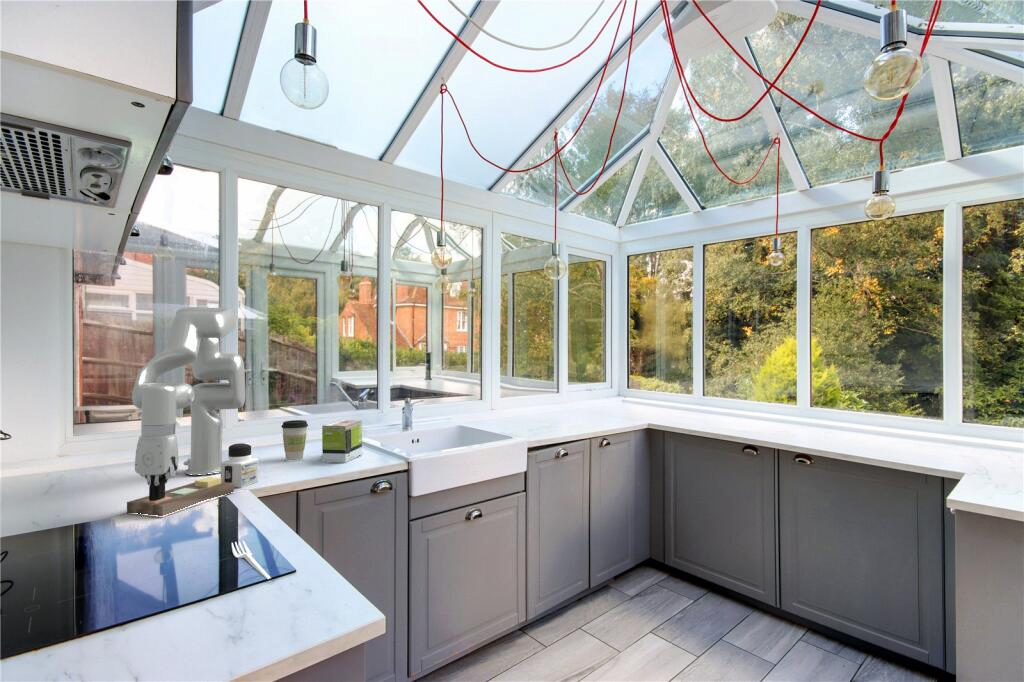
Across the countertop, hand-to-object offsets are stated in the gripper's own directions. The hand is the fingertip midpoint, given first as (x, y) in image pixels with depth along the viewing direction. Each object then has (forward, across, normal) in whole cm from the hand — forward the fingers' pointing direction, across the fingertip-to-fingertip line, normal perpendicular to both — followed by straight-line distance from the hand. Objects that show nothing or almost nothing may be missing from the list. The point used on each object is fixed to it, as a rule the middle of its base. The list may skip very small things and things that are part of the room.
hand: (157, 499), depth 131 cm
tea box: (+3, +10, +70) cm, 71 cm away
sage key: (+3, 0, +8) cm, 9 cm away
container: (+3, 0, +28) cm, 28 cm away
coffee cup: (+3, -8, +64) cm, 65 cm away
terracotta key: (+3, 0, 0) cm, 3 cm away
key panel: (+3, 0, +8) cm, 9 cm away
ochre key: (+2, 0, +16) cm, 16 cm away
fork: (+4, +49, -20) cm, 53 cm away
